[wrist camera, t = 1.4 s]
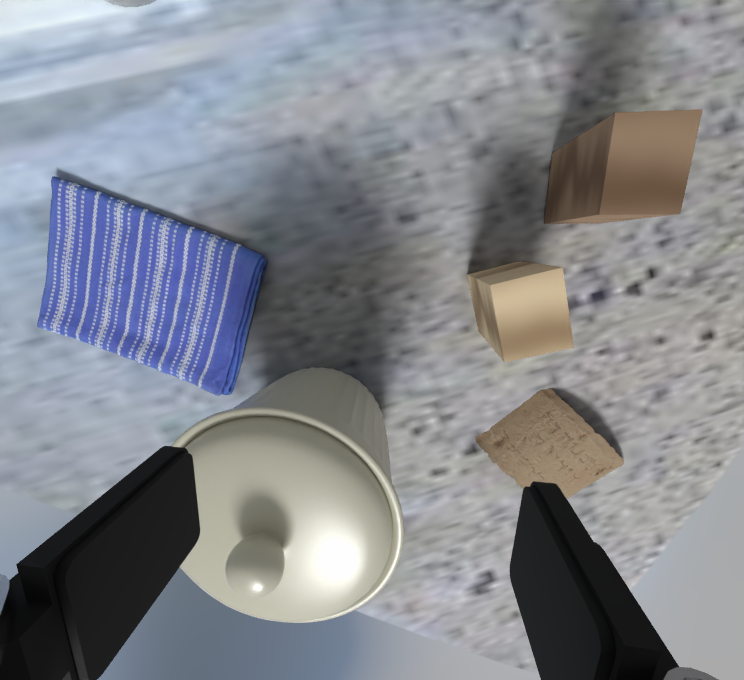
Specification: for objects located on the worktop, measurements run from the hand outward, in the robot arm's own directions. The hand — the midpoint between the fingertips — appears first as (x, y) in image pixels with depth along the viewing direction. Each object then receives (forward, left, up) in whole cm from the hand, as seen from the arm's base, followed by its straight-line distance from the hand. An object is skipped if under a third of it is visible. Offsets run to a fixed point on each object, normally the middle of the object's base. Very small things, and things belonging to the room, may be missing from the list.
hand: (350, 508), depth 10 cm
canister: (+12, -7, -28) cm, 31 cm away
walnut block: (-12, +17, -28) cm, 35 cm away
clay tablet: (+15, +18, -29) cm, 37 cm away
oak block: (-2, +11, -28) cm, 30 cm away
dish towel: (-2, -26, -29) cm, 39 cm away
